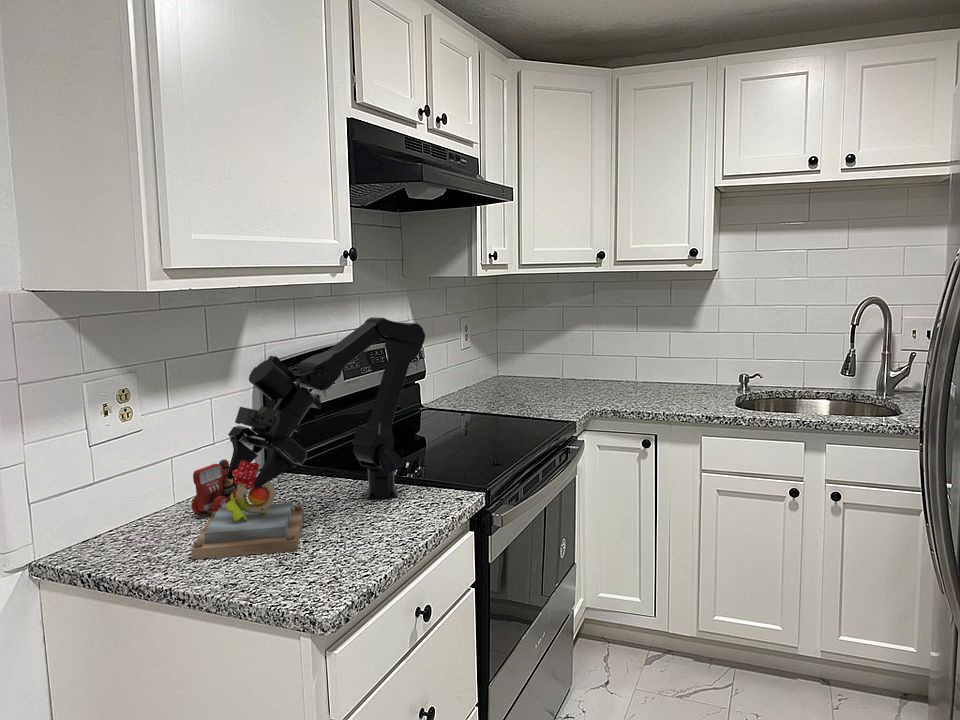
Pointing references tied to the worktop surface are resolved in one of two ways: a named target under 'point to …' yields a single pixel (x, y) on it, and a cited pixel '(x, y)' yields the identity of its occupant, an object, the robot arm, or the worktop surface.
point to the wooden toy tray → (250, 532)
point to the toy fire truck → (213, 488)
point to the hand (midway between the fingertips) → (241, 482)
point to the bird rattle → (256, 496)
